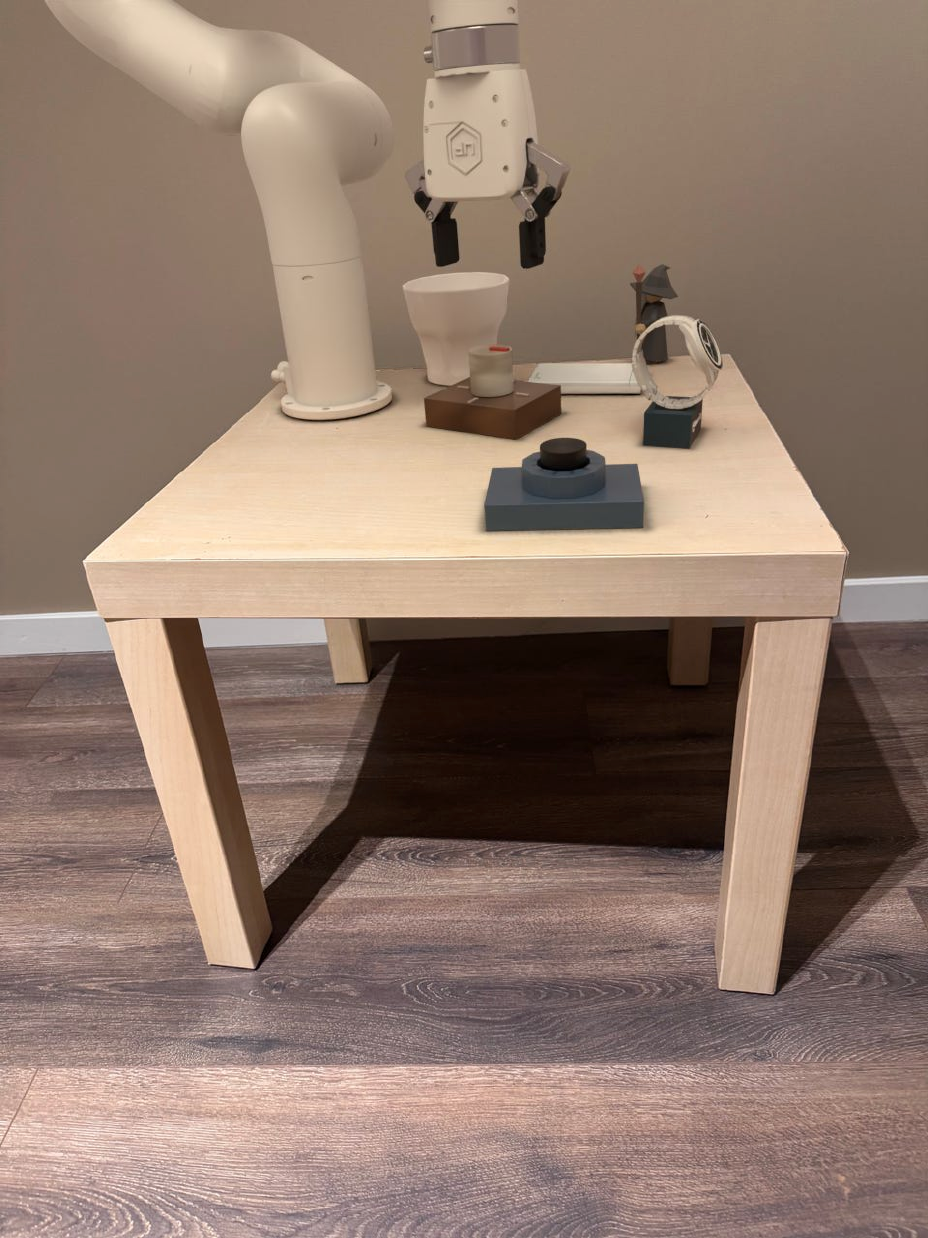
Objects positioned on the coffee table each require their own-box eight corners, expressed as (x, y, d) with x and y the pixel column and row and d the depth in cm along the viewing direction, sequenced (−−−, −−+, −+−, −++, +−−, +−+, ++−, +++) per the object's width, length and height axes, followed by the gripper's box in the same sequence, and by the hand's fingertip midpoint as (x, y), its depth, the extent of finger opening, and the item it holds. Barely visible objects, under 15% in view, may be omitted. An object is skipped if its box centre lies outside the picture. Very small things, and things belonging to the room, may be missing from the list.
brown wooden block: (426, 426, 94) (423, 396, 92) (474, 402, 100) (472, 373, 99) (516, 439, 88) (515, 408, 87) (561, 413, 94) (560, 383, 93)
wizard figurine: (629, 355, 113) (631, 253, 107) (674, 354, 112) (679, 251, 106) (627, 373, 106) (629, 265, 100) (676, 372, 105) (681, 262, 99)
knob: (462, 394, 92) (459, 349, 90) (486, 383, 95) (483, 339, 93) (498, 399, 90) (496, 353, 88) (521, 387, 93) (520, 342, 91)
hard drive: (526, 381, 100) (640, 380, 97) (538, 362, 107) (645, 360, 104) (527, 396, 101) (640, 395, 98) (539, 376, 108) (644, 374, 105)
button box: (485, 531, 70) (482, 482, 68) (493, 492, 77) (491, 446, 75) (643, 527, 68) (644, 478, 66) (636, 488, 75) (638, 442, 73)
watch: (711, 450, 82) (720, 325, 76) (624, 443, 85) (626, 323, 79) (721, 430, 86) (730, 311, 81) (638, 425, 89) (641, 310, 84)
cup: (415, 366, 116) (406, 275, 110) (512, 360, 115) (508, 268, 109) (407, 393, 105) (396, 294, 99) (514, 387, 104) (509, 287, 99)
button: (539, 475, 69) (539, 453, 69) (541, 459, 73) (540, 438, 72) (586, 474, 69) (586, 452, 68) (586, 457, 72) (586, 436, 71)
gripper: (371, 65, 80) (394, 270, 88) (541, 43, 71) (548, 274, 79) (422, 64, 85) (439, 257, 93) (586, 43, 76) (588, 260, 84)
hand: (489, 265), depth 86 cm, fingers open, 9 cm apart
